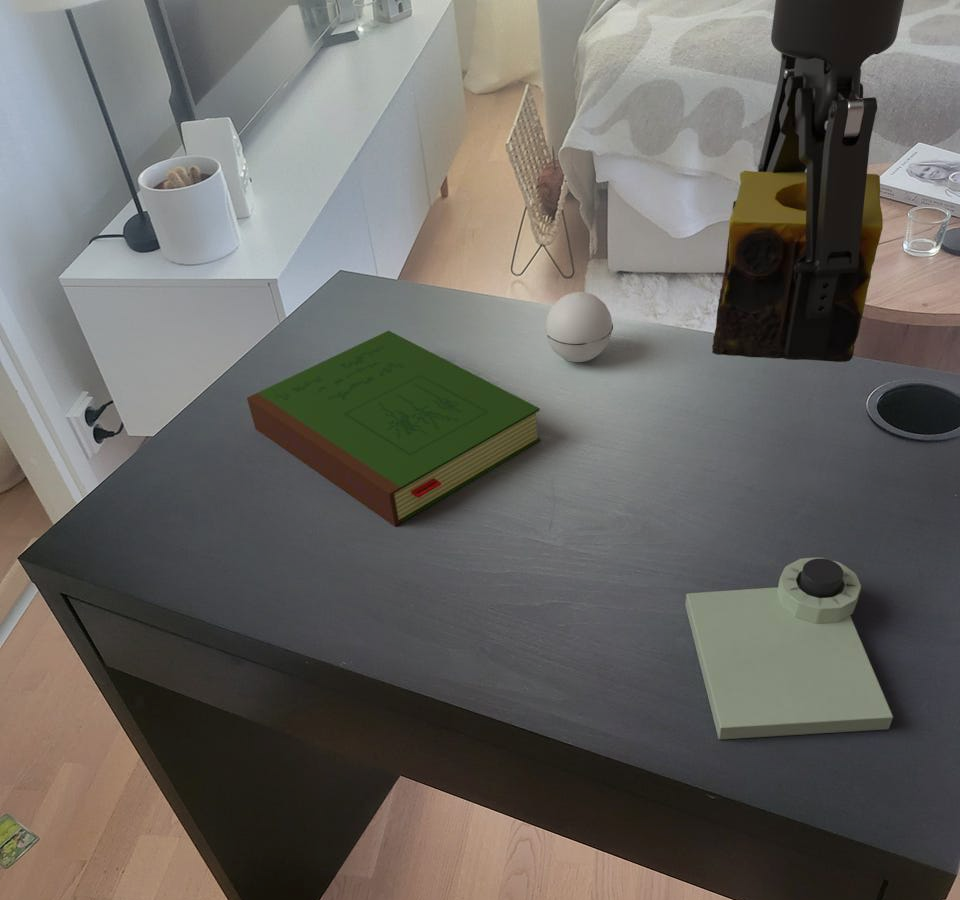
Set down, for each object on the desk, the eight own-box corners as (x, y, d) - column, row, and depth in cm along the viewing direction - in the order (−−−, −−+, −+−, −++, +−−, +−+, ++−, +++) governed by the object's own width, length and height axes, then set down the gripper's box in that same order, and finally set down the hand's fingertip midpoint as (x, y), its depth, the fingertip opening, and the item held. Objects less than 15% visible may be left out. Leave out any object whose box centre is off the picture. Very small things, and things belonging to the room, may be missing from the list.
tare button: (833, 571, 75) (837, 556, 74) (844, 597, 73) (848, 582, 72) (795, 574, 75) (798, 559, 74) (805, 600, 73) (808, 585, 72)
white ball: (532, 361, 107) (529, 299, 101) (575, 335, 110) (575, 273, 105) (600, 390, 101) (601, 326, 96) (644, 362, 105) (647, 298, 99)
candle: (710, 357, 71) (725, 223, 64) (721, 296, 78) (735, 168, 71) (853, 366, 69) (885, 227, 62) (852, 302, 76) (880, 170, 69)
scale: (840, 582, 78) (847, 554, 76) (902, 728, 67) (913, 701, 65) (682, 593, 78) (684, 566, 76) (718, 740, 68) (723, 713, 65)
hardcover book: (255, 428, 101) (246, 397, 98) (393, 360, 109) (388, 330, 106) (400, 530, 87) (394, 497, 84) (545, 443, 95) (544, 410, 92)
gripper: (742, -61, 65) (710, 253, 81) (831, 27, 49) (769, 400, 65) (852, -70, 65) (799, 247, 81) (980, 15, 49) (881, 393, 64)
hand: (786, 315), depth 73 cm, fingers closed on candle, 11 cm apart
